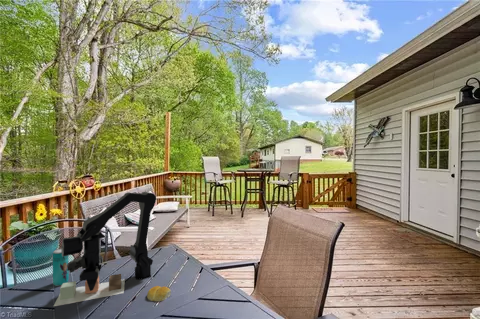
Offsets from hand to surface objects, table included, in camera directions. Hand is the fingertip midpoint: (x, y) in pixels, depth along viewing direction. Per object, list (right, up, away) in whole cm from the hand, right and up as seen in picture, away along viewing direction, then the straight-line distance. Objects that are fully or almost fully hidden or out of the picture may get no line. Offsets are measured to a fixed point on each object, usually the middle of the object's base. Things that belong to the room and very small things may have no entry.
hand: (92, 287), depth 106 cm
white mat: (0, -2, 0) cm, 2 cm away
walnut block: (+8, -2, +3) cm, 9 cm away
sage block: (-8, -2, -3) cm, 9 cm away
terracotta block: (0, -1, 0) cm, 1 cm away
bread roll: (+29, -3, -3) cm, 29 cm away
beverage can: (-18, -3, +8) cm, 20 cm away
